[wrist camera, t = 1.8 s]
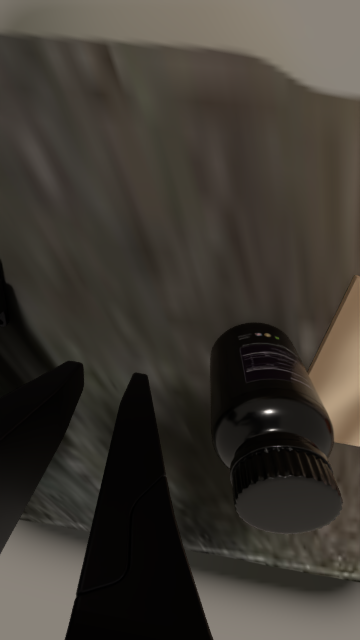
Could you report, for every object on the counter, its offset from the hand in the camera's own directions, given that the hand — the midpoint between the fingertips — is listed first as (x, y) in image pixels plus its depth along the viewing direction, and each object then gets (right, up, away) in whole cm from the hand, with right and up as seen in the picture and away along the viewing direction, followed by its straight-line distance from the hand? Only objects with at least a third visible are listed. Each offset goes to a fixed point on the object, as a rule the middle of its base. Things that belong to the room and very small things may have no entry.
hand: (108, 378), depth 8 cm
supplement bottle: (+8, -1, +15) cm, 17 cm away
